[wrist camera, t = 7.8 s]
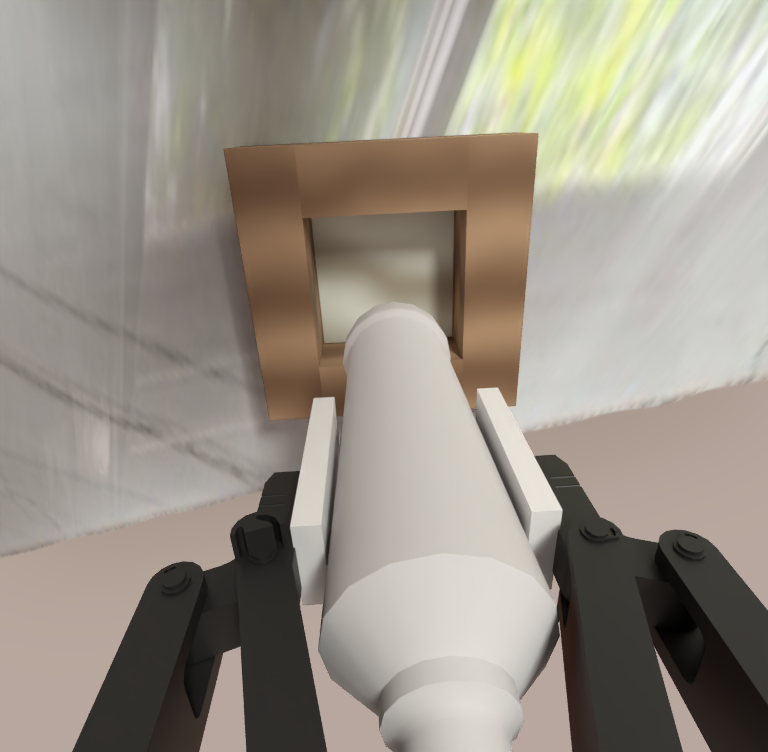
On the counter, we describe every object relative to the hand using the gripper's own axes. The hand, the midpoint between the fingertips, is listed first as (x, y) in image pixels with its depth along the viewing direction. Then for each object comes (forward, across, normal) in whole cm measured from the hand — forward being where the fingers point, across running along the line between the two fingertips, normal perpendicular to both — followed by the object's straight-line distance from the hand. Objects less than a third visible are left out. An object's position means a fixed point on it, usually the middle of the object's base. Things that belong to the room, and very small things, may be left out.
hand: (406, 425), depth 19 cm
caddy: (+21, 0, 0) cm, 21 cm away
